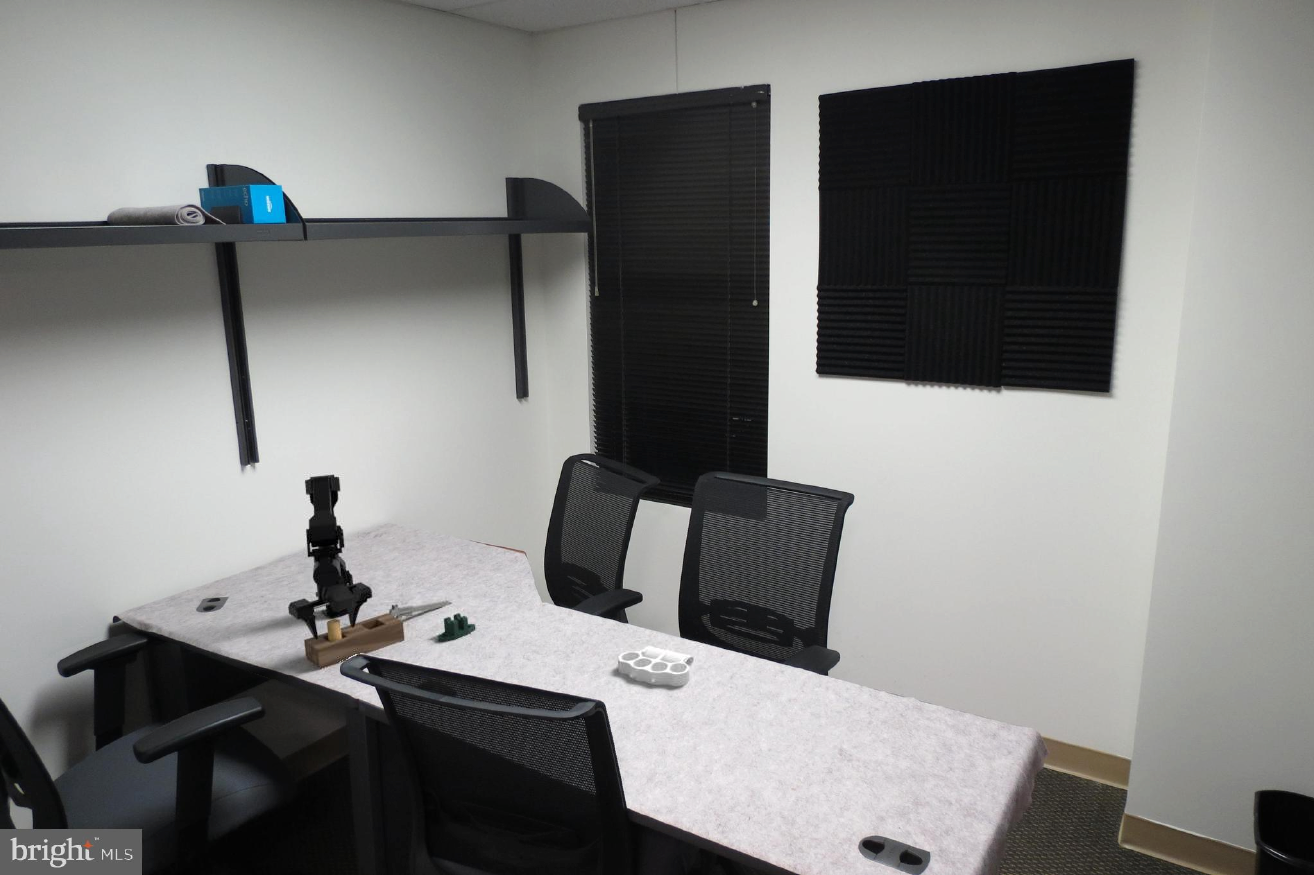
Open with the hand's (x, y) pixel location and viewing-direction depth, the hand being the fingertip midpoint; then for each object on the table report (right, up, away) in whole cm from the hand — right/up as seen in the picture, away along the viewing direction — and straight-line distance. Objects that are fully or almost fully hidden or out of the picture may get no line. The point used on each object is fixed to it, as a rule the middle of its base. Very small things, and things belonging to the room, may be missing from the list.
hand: (334, 633), depth 219 cm
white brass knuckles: (+79, -7, -11) cm, 80 cm away
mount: (+27, -3, +12) cm, 30 cm away
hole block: (+4, -5, +5) cm, 8 cm away
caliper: (+15, -1, +25) cm, 29 cm away
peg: (0, -6, +1) cm, 6 cm away
